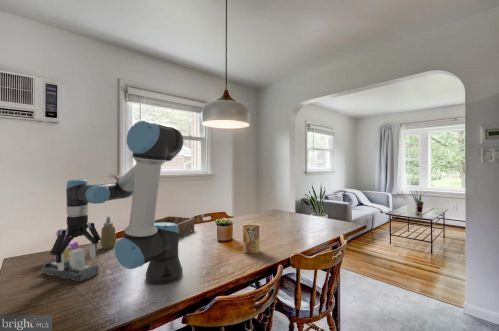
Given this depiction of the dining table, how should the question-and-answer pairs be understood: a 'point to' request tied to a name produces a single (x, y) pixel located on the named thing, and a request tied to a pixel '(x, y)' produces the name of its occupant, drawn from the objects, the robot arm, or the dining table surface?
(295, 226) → the dining table surface
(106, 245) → the squeeze bottle
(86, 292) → the dining table surface
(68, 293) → the dining table surface
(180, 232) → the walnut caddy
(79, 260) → the gold-topped white block
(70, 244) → the toy chair
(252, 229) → the candy box
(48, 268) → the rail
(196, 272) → the dining table surface
